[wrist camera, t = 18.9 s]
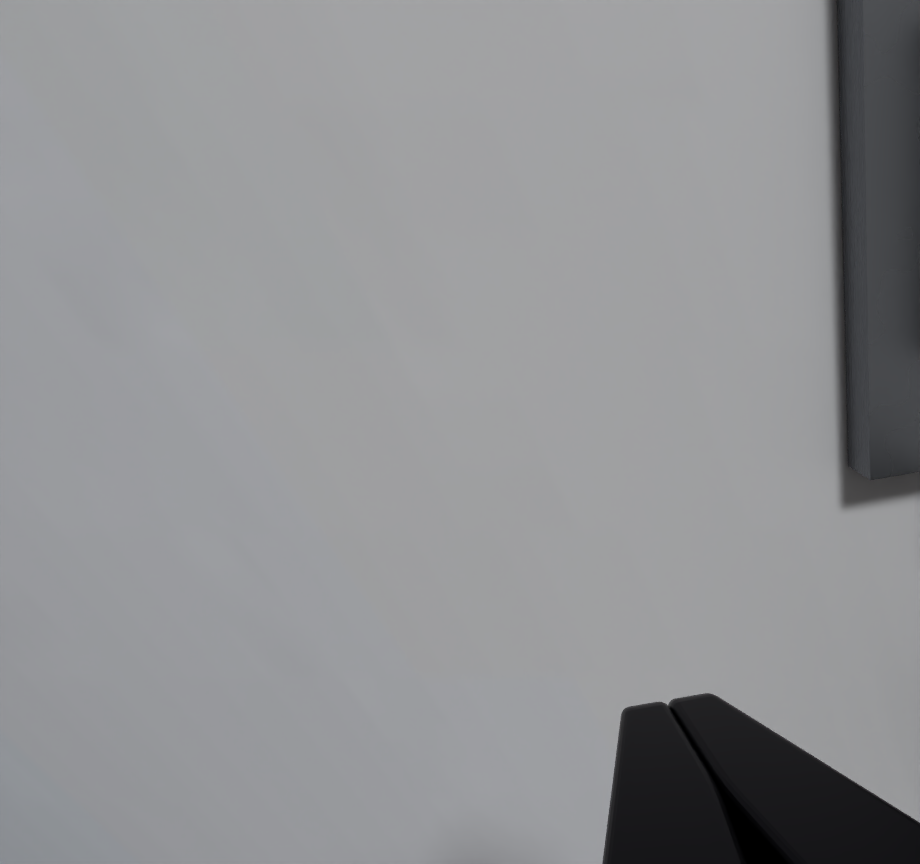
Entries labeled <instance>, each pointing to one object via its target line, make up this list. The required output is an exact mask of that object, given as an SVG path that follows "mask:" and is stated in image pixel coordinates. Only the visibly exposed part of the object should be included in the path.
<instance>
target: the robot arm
mask: <svg viewBox="0 0 920 864" xmlns="http://www.w3.org/2000/svg"><path fill="white" fill-rule="evenodd" d="M603 864H920V823H919V822H918V821H916V820H915V819H913V818H911V817H910V816H908V815H907V814H905V813H903V812H902V811H900V810H899V809H897V808H895V807H894V806H892V805H891V804H889V803H887V802H886V801H884V800H883V799H881V798H879V797H878V796H876V795H875V794H873V793H871V792H870V791H868V790H867V789H865V788H863V787H862V786H860V785H859V784H857V783H855V782H854V781H852V780H851V779H849V778H847V777H846V776H844V775H843V774H841V773H839V772H838V771H836V770H835V769H833V768H831V767H830V766H828V765H827V764H825V763H823V762H822V761H820V760H819V759H817V758H815V757H814V756H812V755H811V754H809V753H807V752H806V751H804V750H802V749H801V748H799V747H798V746H796V745H794V744H793V743H791V742H790V741H788V740H786V739H785V738H783V737H782V736H780V735H778V734H777V733H775V732H774V731H772V730H770V729H769V728H767V727H766V726H764V725H762V724H761V723H759V722H758V721H756V720H754V719H753V718H751V717H750V716H748V715H746V714H745V713H743V712H742V711H740V710H738V709H737V708H735V707H734V706H732V705H730V704H729V703H727V702H726V701H724V700H722V699H721V698H719V697H718V696H716V695H713V694H710V693H705V694H699V695H693V696H688V697H682V698H676V699H673V700H671V701H670V703H669V705H667V704H665V703H663V702H654V703H648V704H642V705H636V706H631V707H627V708H625V709H624V710H623V712H622V714H621V721H620V729H619V737H618V745H617V753H616V761H615V769H614V777H613V785H612V793H611V801H610V808H609V816H608V824H607V832H606V840H605V848H604V856H603Z"/></svg>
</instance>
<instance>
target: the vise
mask: <svg viewBox="0 0 920 864" xmlns="http://www.w3.org/2000/svg"><path fill="white" fill-rule="evenodd" d="M837 8H838V50H839V92H840V134H841V177H842V219H843V261H844V303H845V345H846V387H847V430H848V466H849V467H850V468H852V469H854V470H855V471H857V472H858V473H860V474H861V475H863V476H865V477H866V478H868V479H869V480H874V479H880V478H885V477H891V476H897V475H902V474H908V473H914V472H919V471H920V0H837Z"/></svg>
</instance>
